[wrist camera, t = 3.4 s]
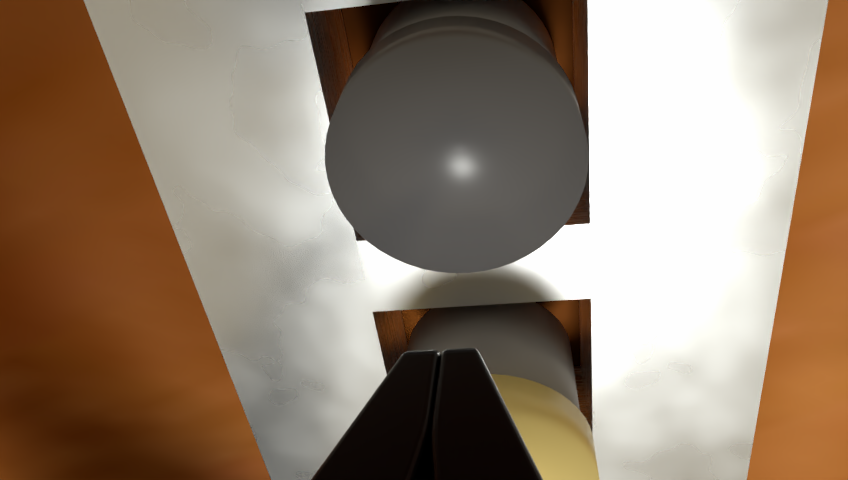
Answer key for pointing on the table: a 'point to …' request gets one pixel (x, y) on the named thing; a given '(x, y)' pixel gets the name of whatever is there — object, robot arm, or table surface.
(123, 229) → the table surface
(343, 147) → the button black
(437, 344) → the button mustard
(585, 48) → the console panel
